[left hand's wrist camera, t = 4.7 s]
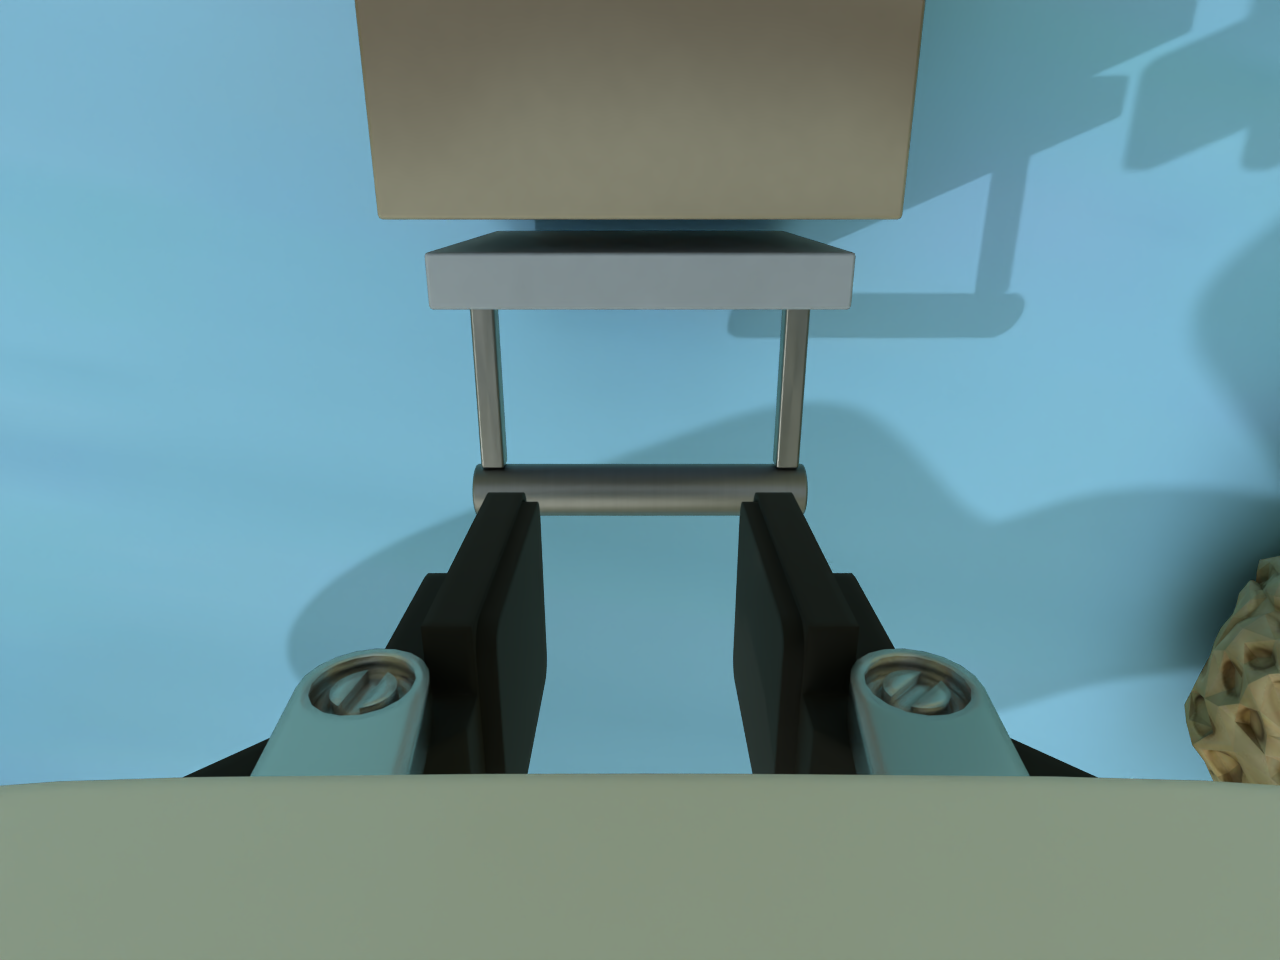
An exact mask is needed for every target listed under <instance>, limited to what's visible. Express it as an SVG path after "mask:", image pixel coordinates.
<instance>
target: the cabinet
mask: <svg viewBox="0 0 1280 960" xmlns="http://www.w3.org/2000/svg"><path fill="white" fill-rule="evenodd" d="M925 1H926V0H355V8H356V18H357V27H358V36H359V45H360V55H361V64H362V73H363V82H364V91H365V101H366V110H367V119H368V128H369V137H370V147H371V156H372V165H373V174H374V183H375V193H376V202H377V211H378V216H379V218H381V219H900V218H901V216H902V212H903V203H904V194H905V185H906V176H907V166H908V157H909V148H910V139H911V129H912V120H913V111H914V102H915V93H916V83H917V74H918V65H919V56H920V47H921V37H922V28H923V19H924V10H925Z"/></svg>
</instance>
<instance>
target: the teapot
mask: <svg viewBox="0 0 1280 960" xmlns="http://www.w3.org/2000/svg"><path fill="white" fill-rule="evenodd" d="M1185 714H1186V723H1187V727H1188V730H1189V734H1190V738H1191V742H1192V745H1193V746H1194V748H1195V749H1196V751H1197V752H1198V753H1199V755H1200V756H1201V757H1202V759H1203V760H1204V761H1205V763H1206V766H1207V768H1208V770H1209V772H1210V775H1211V777H1212V779H1213V781H1217V782H1233V783H1249V784H1264V785H1280V556H1276V557H1271V558H1266V559H1261V560H1259V564H1258V568H1257V576H1256V582H1255V581H1254V580H1250V581H1249V582H1248V583H1247V584H1246V586H1245V587H1244V588H1243V589H1242V590H1241V591H1240V593H1239V596H1238V600H1237V604H1236V607H1235V610H1234V612H1233V614H1232V615H1231V616H1230V617H1229V619H1228V620H1227V621H1226V622H1225V623H1224V625H1223V626H1222V627H1221V629H1220V631H1219V633H1218V635H1217V637H1216V639H1215V642H1214V645H1213V648H1212V651H1211V655H1210V657H1209V658H1208V660H1207V662H1206V664H1205V666H1204V668H1203V669H1202V671H1201V673H1200V675H1199V677H1198V679H1197V681H1196V683H1195V685H1194V687H1193V689H1192V691H1191V693H1190V695H1189V697H1188V699H1187V701H1186V703H1185Z"/></svg>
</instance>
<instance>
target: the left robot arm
mask: <svg viewBox="0 0 1280 960" xmlns="http://www.w3.org/2000/svg"><path fill="white" fill-rule="evenodd" d="M546 669H547V650H546V629H545V607H544V586H543V565H542V544H541V522H540V507H539V503H538V502H527V500H526V495H525V493H524V492H488V493H487V495H486V497H485V499H484V501H483V503H482V505H481V507H480V509H479V511H478V513H477V515H476V517H475V519H474V521H473V523H472V525H471V527H470V529H469V531H468V533H467V535H466V537H465V539H464V541H463V543H462V545H461V547H460V549H459V551H458V553H457V555H456V557H455V559H454V561H453V563H452V565H451V567H450V569H449V571H448V573H428V574H427V575H426V576H425V578H424V579H423V581H422V583H421V585H420V587H419V588H418V590H417V592H416V594H415V596H414V598H413V599H412V601H411V603H410V605H409V607H408V608H407V610H406V612H405V614H404V616H403V617H402V619H401V621H400V623H399V625H398V626H397V628H396V630H395V632H394V634H393V635H392V637H391V639H390V641H389V643H388V645H387V646H386V648H385V649H370V650H363V651H356V652H353V653H349V654H346V655H342V656H339V657H336V658H334V659H332V660H330V661H328V662H326V663H323V664H321V665H319V666H318V667H316V668H315V669H314V670H312V671H311V672H310V673H308V674H307V675H306V676H305V677H304V678H303V679H302V680H301V682H300V683H299V684H298V686H297V687H296V688H295V690H294V692H293V694H292V696H291V698H290V700H289V702H288V704H287V706H286V708H285V710H284V712H283V714H282V715H281V717H280V719H279V721H278V723H277V725H276V727H275V729H274V731H273V733H272V735H271V737H270V738H269V739H266V740H264V741H262V742H260V743H258V744H255V745H253V746H251V747H249V748H247V749H244V750H242V751H240V752H238V753H236V754H233V755H231V756H229V757H227V758H224V759H222V760H220V761H218V762H216V763H213V764H211V765H209V766H207V767H205V768H202V769H200V770H198V771H196V772H194V773H191V774H189V775H187V776H185V777H182V778H152V779H121V780H89V781H59V782H45V783H31V784H17V785H4V786H0V960H1280V785H1264V784H1249V783H1233V782H1217V781H1197V780H1161V779H1124V778H1098V777H1095V776H1093V775H1091V774H1089V773H1086V772H1084V771H1082V770H1080V769H1078V768H1075V767H1073V766H1071V765H1069V764H1067V763H1064V762H1062V761H1060V760H1058V759H1056V758H1053V757H1051V756H1049V755H1047V754H1044V753H1042V752H1040V751H1038V750H1036V749H1033V748H1031V747H1029V746H1027V745H1025V744H1022V743H1020V742H1018V741H1016V740H1014V739H1011V738H1010V737H1009V735H1008V733H1007V731H1006V729H1005V727H1004V725H1003V723H1002V721H1001V719H1000V717H999V715H998V714H997V712H996V710H995V708H994V706H993V704H992V702H991V700H990V698H989V696H988V694H987V692H986V690H985V688H984V687H983V686H982V684H981V683H980V682H979V680H978V679H977V678H976V677H975V676H974V675H973V674H972V673H970V672H969V671H968V670H966V669H965V668H964V667H962V666H961V665H959V664H957V663H954V662H952V661H950V660H948V659H946V658H944V657H941V656H938V655H934V654H931V653H927V652H924V651H917V650H910V649H895V648H894V646H893V644H892V643H891V641H890V639H889V637H888V635H887V634H886V632H885V630H884V628H883V626H882V625H881V623H880V621H879V619H878V617H877V616H876V614H875V612H874V610H873V608H872V607H871V605H870V603H869V601H868V599H867V597H866V596H865V594H864V592H863V590H862V588H861V587H860V585H859V583H858V581H857V579H856V578H855V576H854V575H853V574H852V573H832V571H831V569H830V567H829V565H828V563H827V561H826V559H825V557H824V555H823V553H822V551H821V549H820V547H819V545H818V543H817V541H816V539H815V537H814V535H813V533H812V531H811V529H810V527H809V525H808V523H807V521H806V519H805V517H804V515H803V513H802V511H801V509H800V507H799V505H798V503H797V501H796V499H795V497H794V495H793V493H792V492H756V493H755V495H754V500H753V502H742V503H741V507H740V523H739V544H738V565H737V586H736V608H735V629H734V650H733V669H734V679H735V685H736V690H737V695H738V700H739V706H740V711H741V716H742V721H743V726H744V732H745V737H746V742H747V747H748V752H749V758H750V763H751V768H752V773H753V774H527V773H528V768H529V763H530V758H531V752H532V747H533V742H534V737H535V732H536V726H537V721H538V716H539V711H540V706H541V700H542V695H543V690H544V685H545V679H546Z"/></svg>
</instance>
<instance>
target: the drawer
mask: <svg viewBox="0 0 1280 960" xmlns="http://www.w3.org/2000/svg"><path fill="white" fill-rule="evenodd" d="M425 265H426V276H427V287H428V298H429V306H430V308H431V309H470V315H471V328H472V342H473V356H474V369H475V383H476V397H477V410H478V424H479V437H480V451H481V464H478V465H477V466H476V468H475V471H474V476H473V504H474V509H475V512H476V514H477V513H478V511H479V509H480V507H481V505H482V503H483V501H484V499H485V497H486V495H487V493H488V492H524V493H525V495H526V500H527V502H538V503H539V507H540V516H740V507H741V503H742V502H753V500H754V495H755V493H756V492H792V493H793V495H794V497H795V499H796V501H797V503H798V505H799V507H800V509H801V511H802V513H803V514H804V512H805V509H806V505H807V493H808V487H807V475H806V471H805V468H804V466H803V465H802V464H799V454H800V440H801V426H802V413H803V399H804V385H805V372H806V358H807V344H808V331H809V317H810V309H849V308H850V307H851V299H852V288H853V277H854V266H855V253H852V252H849V251H846V250H843V249H840V248H836V247H833V246H830V245H827V244H823V243H820V242H817V241H814V240H810V239H807V238H804V237H800V236H797V235H794V234H791V233H787V232H784V231H496V232H493V233H490V234H486V235H483V236H480V237H476V238H473V239H470V240H467V241H463V242H460V243H457V244H454V245H450V246H447V247H444V248H441V249H437V250H434V251H431V252H428V253H426V254H425ZM498 309H782V321H781V338H780V354H779V370H778V387H777V403H776V419H775V436H774V452H773V461H774V464H506V462H507V449H506V433H505V416H504V400H503V384H502V367H501V351H500V335H499V318H498Z"/></svg>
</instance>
